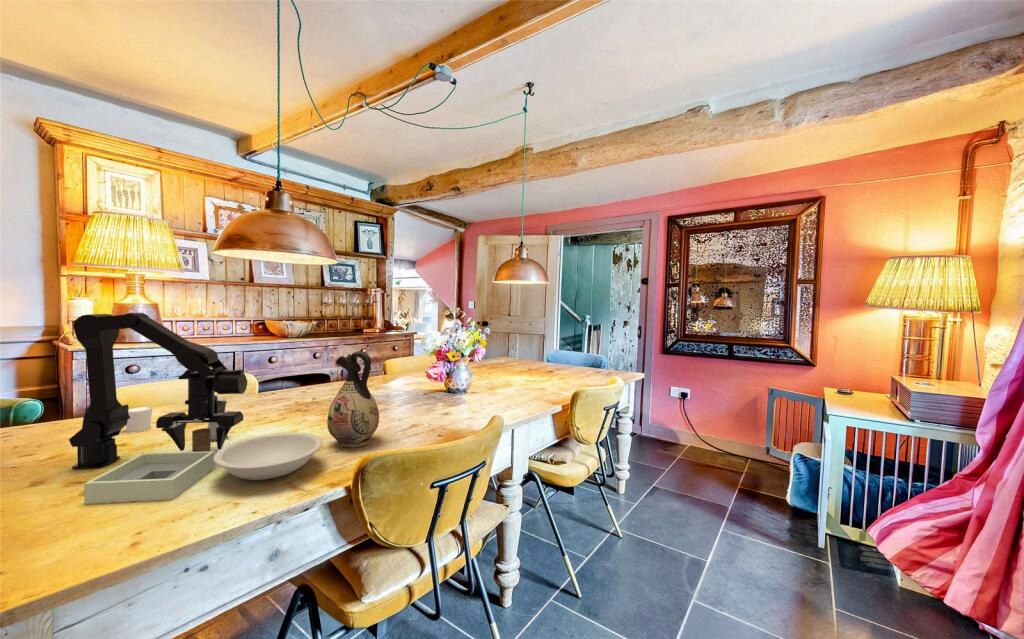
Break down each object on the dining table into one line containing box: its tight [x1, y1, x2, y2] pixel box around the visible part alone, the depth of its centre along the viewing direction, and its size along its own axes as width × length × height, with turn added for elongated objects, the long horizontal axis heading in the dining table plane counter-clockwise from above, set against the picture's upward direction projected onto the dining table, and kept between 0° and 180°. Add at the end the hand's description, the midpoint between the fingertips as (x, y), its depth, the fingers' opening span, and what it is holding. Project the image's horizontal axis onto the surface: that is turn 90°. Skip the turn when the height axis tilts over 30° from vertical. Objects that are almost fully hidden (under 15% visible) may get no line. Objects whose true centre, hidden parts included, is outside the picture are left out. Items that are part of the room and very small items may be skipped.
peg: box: [191, 427, 212, 452], centre depth 107 cm, size 4×4×8 cm
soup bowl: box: [213, 432, 323, 481], centre depth 101 cm, size 24×24×7 cm
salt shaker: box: [206, 397, 230, 442], centre depth 122 cm, size 6×6×13 cm
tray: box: [83, 450, 216, 505], centre depth 92 cm, size 17×17×4 cm
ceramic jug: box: [326, 350, 380, 448], centre depth 122 cm, size 17×15×30 cm
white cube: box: [125, 406, 153, 433], centre depth 128 cm, size 7×7×7 cm
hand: (201, 449), depth 107 cm, fingers open, 9 cm apart
